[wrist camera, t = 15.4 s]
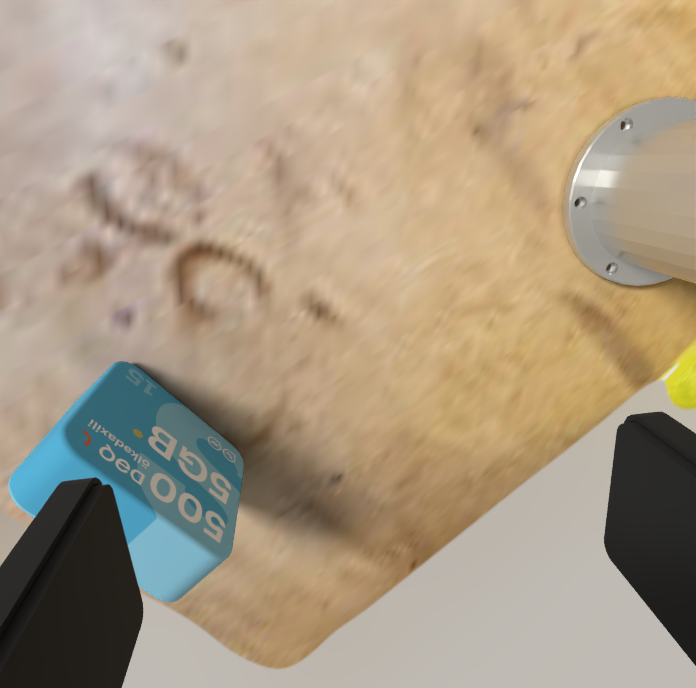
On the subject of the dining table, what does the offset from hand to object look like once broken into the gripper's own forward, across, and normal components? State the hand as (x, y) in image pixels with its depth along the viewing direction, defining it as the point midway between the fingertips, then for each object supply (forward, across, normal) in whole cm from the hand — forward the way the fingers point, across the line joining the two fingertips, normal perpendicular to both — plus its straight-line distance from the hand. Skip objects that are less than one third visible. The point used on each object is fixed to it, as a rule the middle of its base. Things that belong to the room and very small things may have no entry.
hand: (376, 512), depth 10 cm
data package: (+29, +12, +12) cm, 33 cm away
